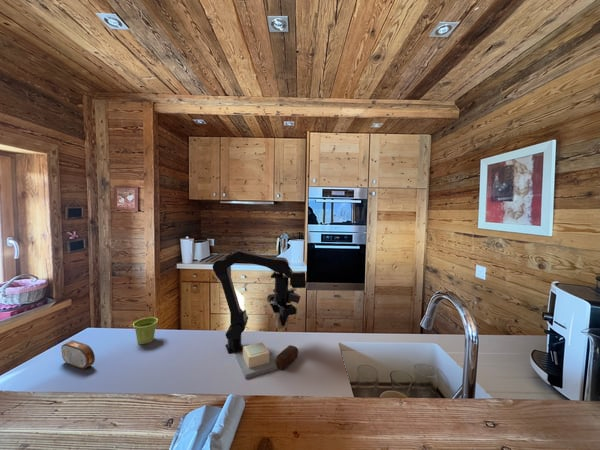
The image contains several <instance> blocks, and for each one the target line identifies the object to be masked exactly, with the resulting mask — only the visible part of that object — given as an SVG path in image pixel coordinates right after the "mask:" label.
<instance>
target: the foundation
mask: <svg viewBox="0 0 600 450" xmlns="http://www.w3.org/2000/svg"><path fill="white" fill-rule="evenodd" d="M235 358H236V361H237V363H238V365H239V368H240V369H241V372H242V374H243V376H244V379H245V380H246V379H249V378H252V377H256V376H260V375H263V374H266V373H269V372H273V371H277V370H278V368H277V365H276V361H274V359H273V357H272V356H271V355H270V351H269V350H268V349H267V347H266V345H265V343H264V342H258V343H254V344H249V345H244V346H243V350H242V352H237V353H236V354H235Z"/></svg>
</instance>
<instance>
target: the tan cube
mask: <svg viewBox="0 0 600 450" xmlns="http://www.w3.org/2000/svg"><path fill="white" fill-rule="evenodd" d="M272 316H273V317H272V319H273V320H272V321H273V322H272V325H273V326H274V328H276V329H277V330H281V329H286V328H289V323H290V322H289V321H290V318H289V317H290V315H288V317H287V320H286V323H285V326H282V325H281V322H280V318H279V315H278V312H277V313H274V312H273V314H272Z"/></svg>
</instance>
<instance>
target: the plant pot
mask: <svg viewBox="0 0 600 450" xmlns="http://www.w3.org/2000/svg"><path fill="white" fill-rule="evenodd" d="M158 322H159V319H158V318H157V317H143V318H140V319H138V320H136V321H134V322H133V323H132V327H133V328H134V331H135V336H136V342H137V344H138V345H146V344H150V343H152V342H153V341H154V339H155V334H156V332H155V331H156V328H157V327H156V326H157V323H158Z"/></svg>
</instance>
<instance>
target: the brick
mask: <svg viewBox="0 0 600 450" xmlns="http://www.w3.org/2000/svg"><path fill="white" fill-rule="evenodd" d="M298 355H299V348H298V347H296V346H295V345H287V347H285V348H284V349H283V350H282V351H281V352H280V353H278V354H277V355H276V357H275V363H276V365H277V369H279V370H282V371H285V370H286V369H287V368H288V367H289V366H290V365H291V364H292V363H294V361H296V359H297V358H298Z"/></svg>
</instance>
